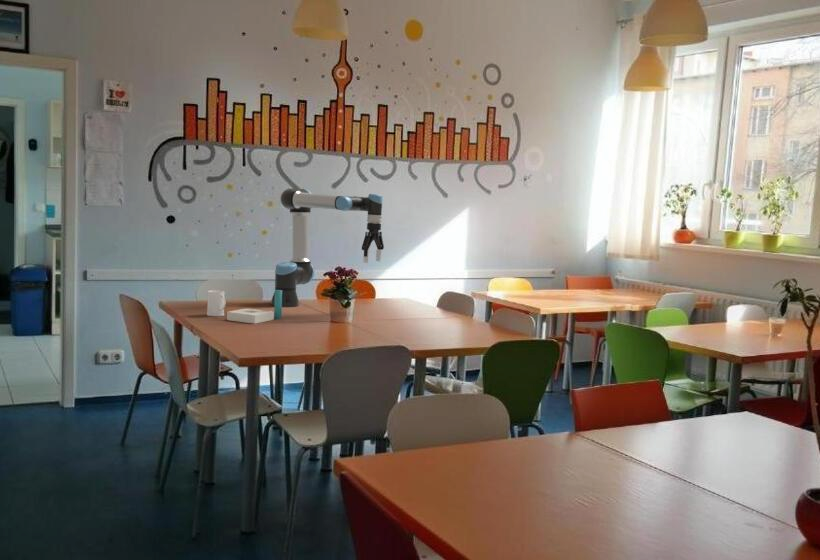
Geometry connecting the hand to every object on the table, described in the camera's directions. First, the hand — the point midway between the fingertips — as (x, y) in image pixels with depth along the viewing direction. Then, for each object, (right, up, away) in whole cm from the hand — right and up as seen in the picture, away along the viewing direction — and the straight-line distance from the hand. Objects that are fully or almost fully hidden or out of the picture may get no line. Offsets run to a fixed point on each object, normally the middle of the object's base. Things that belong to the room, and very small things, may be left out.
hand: (372, 262), depth 439 cm
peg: (-46, -29, -35) cm, 64 cm away
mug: (-76, -28, -36) cm, 88 cm away
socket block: (-57, -29, -44) cm, 78 cm away
